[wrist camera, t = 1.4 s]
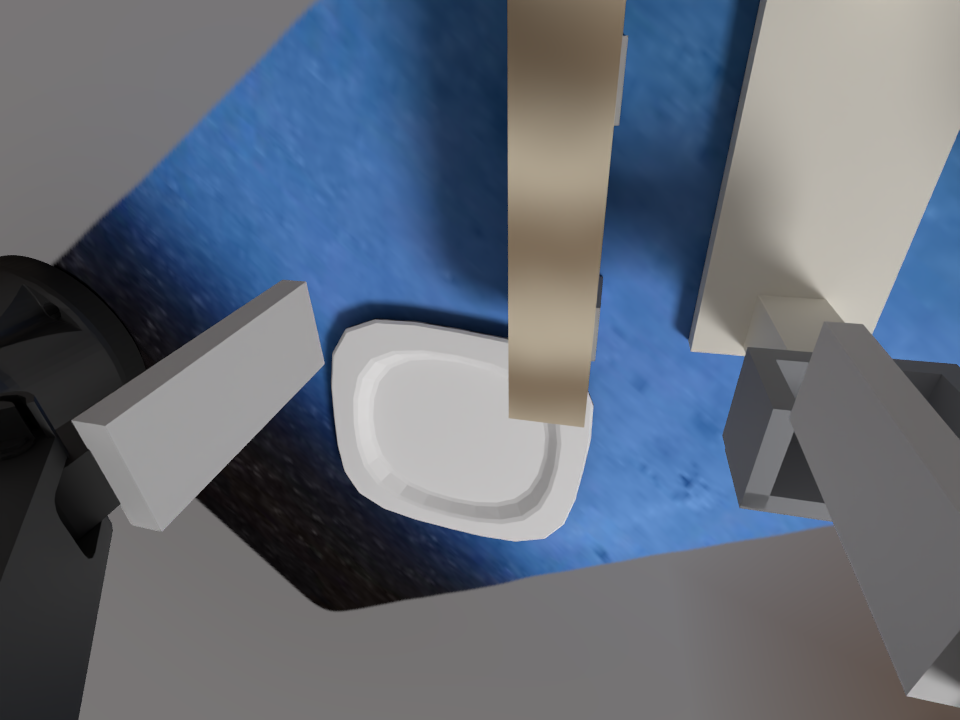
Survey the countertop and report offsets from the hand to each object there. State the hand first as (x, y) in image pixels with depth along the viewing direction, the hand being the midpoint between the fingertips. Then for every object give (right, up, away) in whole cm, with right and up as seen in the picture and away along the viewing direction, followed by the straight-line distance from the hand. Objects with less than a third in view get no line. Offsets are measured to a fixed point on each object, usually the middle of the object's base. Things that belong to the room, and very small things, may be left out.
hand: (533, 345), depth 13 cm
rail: (+2, +6, +9) cm, 11 cm away
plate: (-3, -5, +23) cm, 24 cm away
